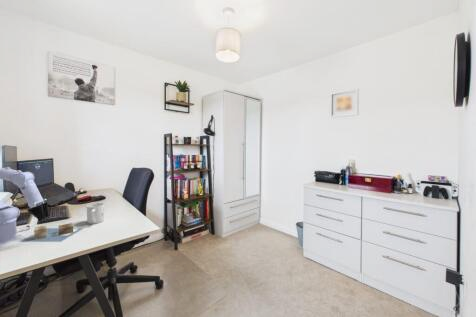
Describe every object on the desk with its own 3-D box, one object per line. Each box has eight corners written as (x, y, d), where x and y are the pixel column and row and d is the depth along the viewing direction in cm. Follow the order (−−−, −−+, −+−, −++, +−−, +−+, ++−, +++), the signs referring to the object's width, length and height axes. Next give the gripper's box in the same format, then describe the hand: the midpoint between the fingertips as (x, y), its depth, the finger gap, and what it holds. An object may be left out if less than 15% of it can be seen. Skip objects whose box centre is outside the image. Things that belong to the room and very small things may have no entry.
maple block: (34, 239, 103) (34, 230, 103) (35, 236, 107) (34, 227, 106) (46, 237, 106) (46, 228, 106) (46, 234, 110) (46, 225, 109)
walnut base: (58, 235, 109) (58, 229, 108) (58, 231, 113) (58, 225, 113) (73, 232, 113) (73, 226, 112) (72, 228, 117) (72, 222, 117)
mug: (89, 220, 131) (88, 203, 130) (105, 218, 135) (105, 202, 134) (84, 227, 120) (83, 209, 119) (102, 225, 124) (101, 207, 123)
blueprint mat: (19, 242, 101) (19, 241, 101) (47, 228, 117) (47, 228, 117) (61, 242, 102) (61, 241, 102) (83, 229, 118) (83, 228, 118)
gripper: (37, 191, 100) (50, 216, 102) (45, 190, 112) (57, 212, 114) (18, 198, 96) (31, 224, 98) (29, 196, 109) (41, 218, 110)
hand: (44, 218), depth 106 cm, fingers open, 7 cm apart
